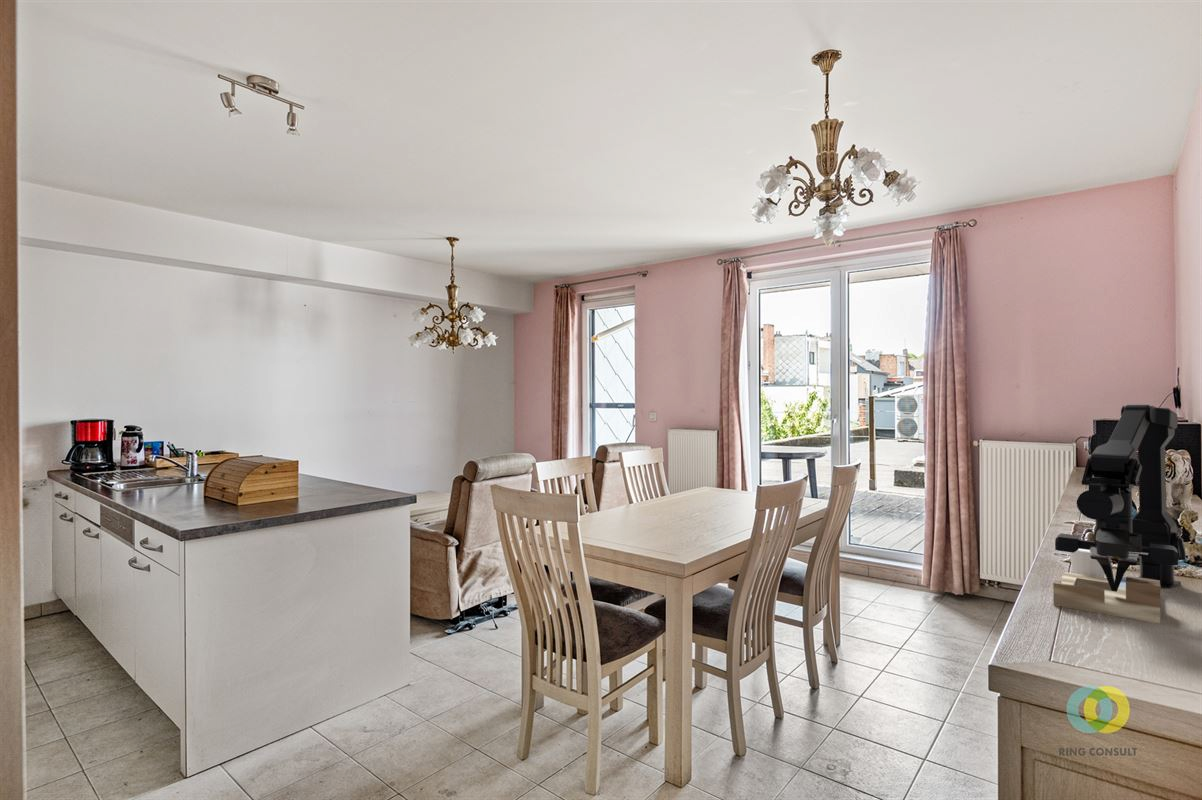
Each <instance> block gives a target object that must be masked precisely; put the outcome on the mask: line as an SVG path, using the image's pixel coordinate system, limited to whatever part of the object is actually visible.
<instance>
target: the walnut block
mask: <svg viewBox="0 0 1202 800" xmlns="http://www.w3.org/2000/svg"><path fill="white" fill-rule="evenodd" d="M1125 577H1126V602H1131V603H1137V604H1143V605H1149V606H1156V607H1160V608H1161V586H1160V580H1153V579H1146V578H1139V577H1140V576H1131V575H1126V576H1125Z"/></svg>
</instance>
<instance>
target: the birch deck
mask: <svg viewBox="0 0 1202 800" xmlns="http://www.w3.org/2000/svg"><path fill="white" fill-rule="evenodd" d="M1114 582H1115V578H1114ZM1052 588H1053V593H1052V594H1053V606H1055V607H1056V606H1057V607H1062V608H1067V609H1073V610H1079V611H1084V612H1085V611H1086V612H1090V613H1091V612H1092V613H1096V614H1101V615H1107V616H1108V615H1109V616H1113V617H1119V618H1126V619H1129V620H1130V619H1132V620H1136V621H1143V622H1148V623H1153V624H1158V625H1160V624H1161V607H1156V606H1149V605H1143V604H1137V603H1131V602H1126V589H1122V588H1118V590H1117V592H1115V591H1112V590H1111V588H1110V585H1109V583H1108V580H1107V578H1106V577H1104V578H1102V577H1095V576H1088V575H1081V574H1074V573H1072V572H1066V571H1065V572H1063V574H1062V576H1061V578H1060V579H1054V581H1053V587H1052Z"/></svg>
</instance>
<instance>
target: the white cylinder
mask: <svg viewBox="0 0 1202 800" xmlns="http://www.w3.org/2000/svg"><path fill="white" fill-rule="evenodd" d="M1090 555H1091V552H1090V550H1086V549H1078V550H1077V551H1075V552H1074V553H1072V552H1069V556H1070V564H1071V573H1074V574H1081V575H1088V576H1095V577H1102V578H1105V577H1106V575H1105V573H1104V571H1103V569H1102V567H1101V565H1100V564H1099V562H1098V561H1097V560H1096V559H1091V558H1090Z"/></svg>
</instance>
